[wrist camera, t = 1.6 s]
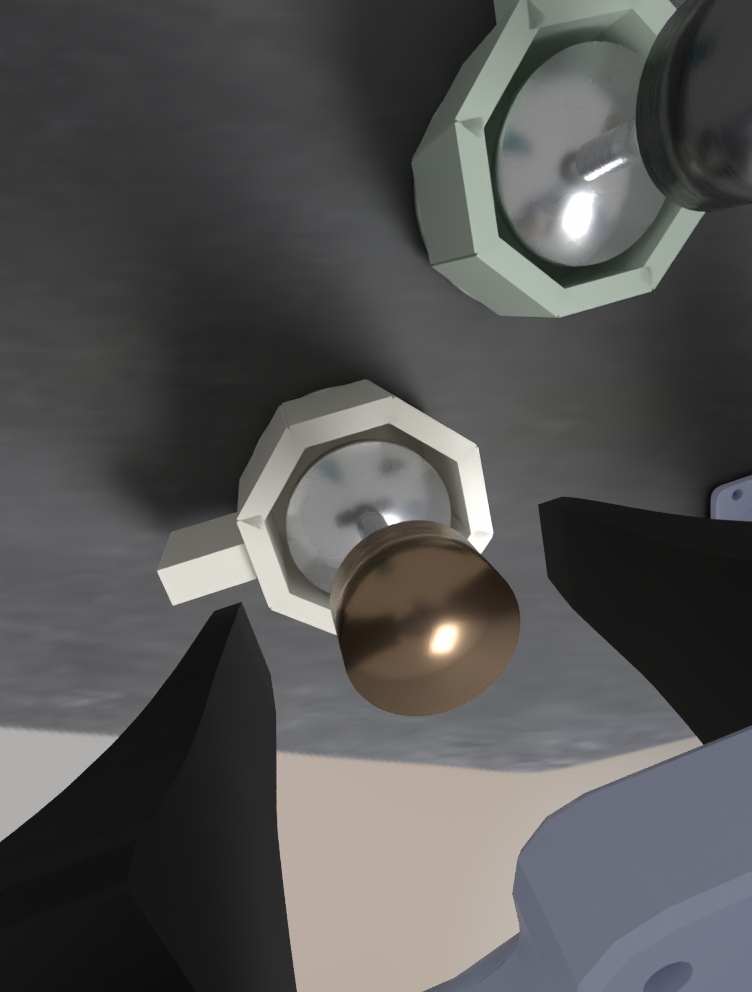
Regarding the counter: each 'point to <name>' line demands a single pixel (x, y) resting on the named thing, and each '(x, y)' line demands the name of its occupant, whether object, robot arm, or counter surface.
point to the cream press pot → (271, 477)
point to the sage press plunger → (628, 136)
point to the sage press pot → (468, 163)
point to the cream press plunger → (400, 579)
